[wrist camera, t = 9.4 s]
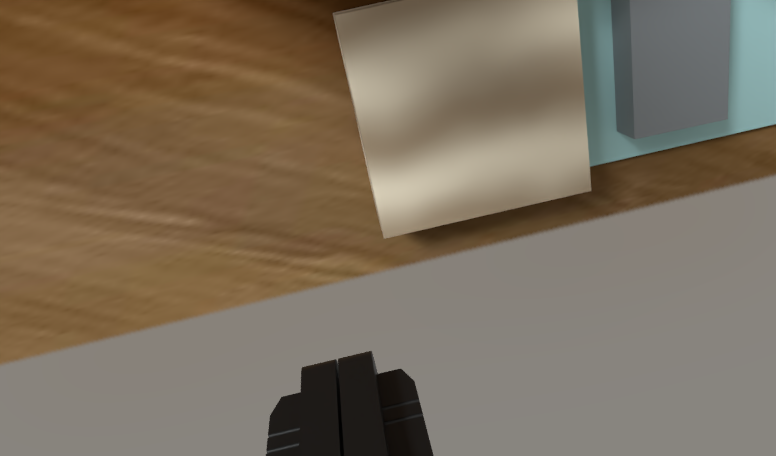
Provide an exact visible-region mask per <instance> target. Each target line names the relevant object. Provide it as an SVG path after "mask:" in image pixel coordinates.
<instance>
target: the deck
mask: <svg viewBox="0 0 776 456" xmlns="http://www.w3.org/2000/svg"><path fill="white" fill-rule="evenodd" d="M333 17H334V22H335V26H336V31H337V35H338V40H339V44H340V49H341V53H342V58H343V62H344V67H345V71H346V76H347V80H348V85H349V89H350V94H351V98H352V103H353V107H354V112H355V116H356V121H357V125H358V130H359V134H360V139H361V143H362V148H363V152H364V157H365V161H366V166H367V170H368V175H369V179H370V184H371V188H372V193H373V197H374V202H375V206H376V211H377V215H378V219H379V222H380V226H381V230H382V233H383V237H384V239H385V238H389V237H393V236H398V235H402V234H407V233H411V232H415V231H420V230H424V229H428V228H433V227H437V226H441V225H446V224H450V223H454V222H459V221H463V220H467V219H472V218H476V217H480V216H485V215H489V214H493V213H498V212H502V211H506V210H511V209H515V208H519V207H524V206H528V205H532V204H537V203H541V202H545V201H550V200H554V199H558V198H563V197H567V196H571V195H576V194H580V193H584V192H589V191H592V190H591V177H590V164H589V150H588V137H587V124H586V111H585V97H584V84H583V71H582V58H581V44H580V31H579V18H578V4H577V0H389V1H385V2H380V3H376V4H371V5H366V6H362V7H357V8H353V9H348V10H343V11H339V12H334V13H333Z"/></svg>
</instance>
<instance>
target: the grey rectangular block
mask: <svg viewBox="0 0 776 456" xmlns="http://www.w3.org/2000/svg"><path fill="white" fill-rule="evenodd" d="M730 10H731V0H611V16H612V38H613V60H614V82H615V104H616V126H617V131H618V132H620V133H622V134H624V135H626V136H628V137H630V138H633V139H639V138H644V137H648V136H653V135H657V134H662V133H667V132H671V131H676V130H680V129H685V128H690V127H694V126H699V125H703V124H708V123H713V122H717V121H722V120H726V119H728V89H729V50H730Z"/></svg>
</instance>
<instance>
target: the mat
mask: <svg viewBox="0 0 776 456" xmlns="http://www.w3.org/2000/svg"><path fill="white" fill-rule="evenodd" d="M577 4H578V18H579V31H580V44H581V58H582V71H583V84H584V97H585V111H586V124H587V137H588V150H589V164H590V167H591V166H595V165H599V164H604V163H608V162H612V161H617V160H621V159H626V158H630V157H634V156H639V155H643V154H647V153H652V152H656V151H660V150H665V149H669V148H674V147H678V146H682V145H687V144H691V143H695V142H700V141H704V140H708V139H713V138H717V137H722V136H726V135H730V134H735V133H739V132H743V131H748V130H752V129H757V128H761V127H765V126H770V125H774V124H776V0H731V10H730V50H729V89H728V119H726V120H722V121H717V122H713V123H708V124H703V125H699V126H694V127H690V128H685V129H680V130H676V131H671V132H667V133H662V134H657V135H653V136H648V137H644V138H639V139H633V138H630V137H628V136H626V135H624V134H622V133H620V132H618V131H617V126H616V104H615V82H614V60H613V38H612V16H611V0H577Z"/></svg>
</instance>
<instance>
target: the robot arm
mask: <svg viewBox="0 0 776 456" xmlns="http://www.w3.org/2000/svg"><path fill="white" fill-rule="evenodd" d="M268 436H269V438H268V441H267V454H266V456H433V452H432V449H431V445H430V440H429V437H428V433H427V429H426V425H425V421H424V417H423V413H422V409H421V405H420V402H419V398H418V394H417V390H416V386H415V382H414V381H413V379H411V378H410V377H409V376H408V375H407V374H406V373H405V372H404V371H403V370H402V369H397V370H393V371H388V372H384V373H380V374H378V373H377V369H376V366H375V361H374V357H373V354H372V351H369V352H365V353H360V354H356V355H352V356H348V357H343V358H340V359H338V363H337V360H331V361H327V362H323V363H318V364H314V365H310V366H306V367H302V371H301V393H296V394H292V395H288V396H284V397H281V399H280V401H279V402H278V404H277V405H276V407H275V409H274V410H273V412H272V414H271V415H270V421H269V432H268Z"/></svg>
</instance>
